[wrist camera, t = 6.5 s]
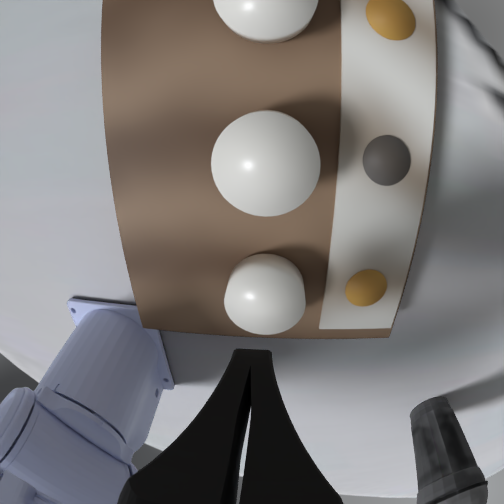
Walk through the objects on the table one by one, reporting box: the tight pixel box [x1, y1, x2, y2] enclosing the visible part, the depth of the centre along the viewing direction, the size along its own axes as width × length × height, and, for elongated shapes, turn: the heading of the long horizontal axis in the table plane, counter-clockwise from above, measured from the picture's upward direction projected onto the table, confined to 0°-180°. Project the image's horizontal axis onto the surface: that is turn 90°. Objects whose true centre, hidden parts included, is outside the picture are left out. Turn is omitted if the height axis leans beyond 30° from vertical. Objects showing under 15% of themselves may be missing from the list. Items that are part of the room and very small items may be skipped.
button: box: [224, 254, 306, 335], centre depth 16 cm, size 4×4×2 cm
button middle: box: [211, 110, 320, 217], centre depth 12 cm, size 4×4×2 cm
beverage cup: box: [410, 397, 488, 504], centre depth 17 cm, size 7×7×20 cm
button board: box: [101, 0, 438, 339], centre depth 14 cm, size 22×16×3 cm
